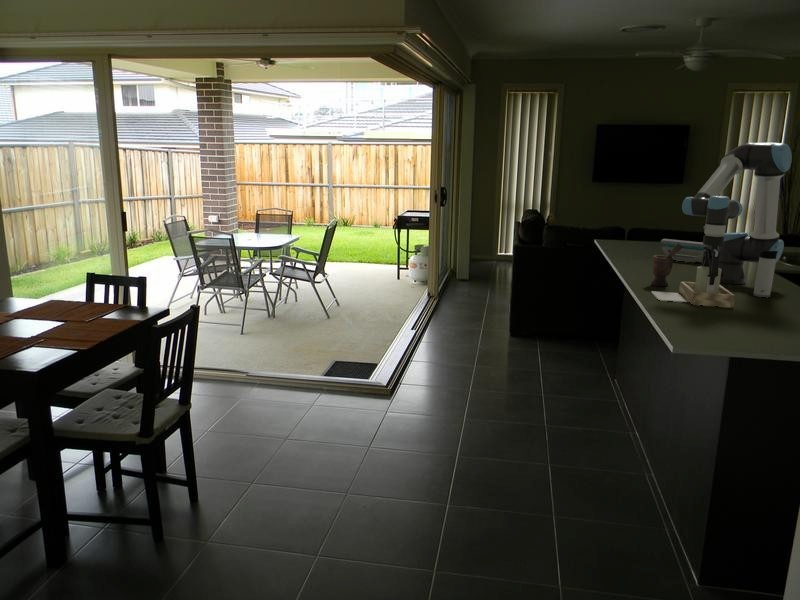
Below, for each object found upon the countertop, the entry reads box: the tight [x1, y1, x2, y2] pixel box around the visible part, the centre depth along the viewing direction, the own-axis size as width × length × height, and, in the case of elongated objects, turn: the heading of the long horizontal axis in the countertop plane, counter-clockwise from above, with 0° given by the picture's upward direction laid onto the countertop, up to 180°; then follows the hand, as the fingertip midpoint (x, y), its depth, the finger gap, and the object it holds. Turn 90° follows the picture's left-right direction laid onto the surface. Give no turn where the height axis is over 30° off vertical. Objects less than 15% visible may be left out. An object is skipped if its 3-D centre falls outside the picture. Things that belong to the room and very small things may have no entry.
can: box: [694, 265, 722, 294], centre depth 265 cm, size 9×9×12 cm
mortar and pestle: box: [650, 243, 683, 287], centre depth 291 cm, size 12×9×20 cm
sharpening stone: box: [660, 238, 707, 263], centre depth 362 cm, size 25×8×11 cm, turn 57°
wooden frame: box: [678, 281, 736, 309], centre depth 266 cm, size 15×22×5 cm
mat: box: [651, 290, 689, 303], centre depth 269 cm, size 11×16×1 cm
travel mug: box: [753, 251, 778, 299], centre depth 275 cm, size 6×7×20 cm
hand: (706, 289), depth 266 cm, fingers closed on can, 9 cm apart
